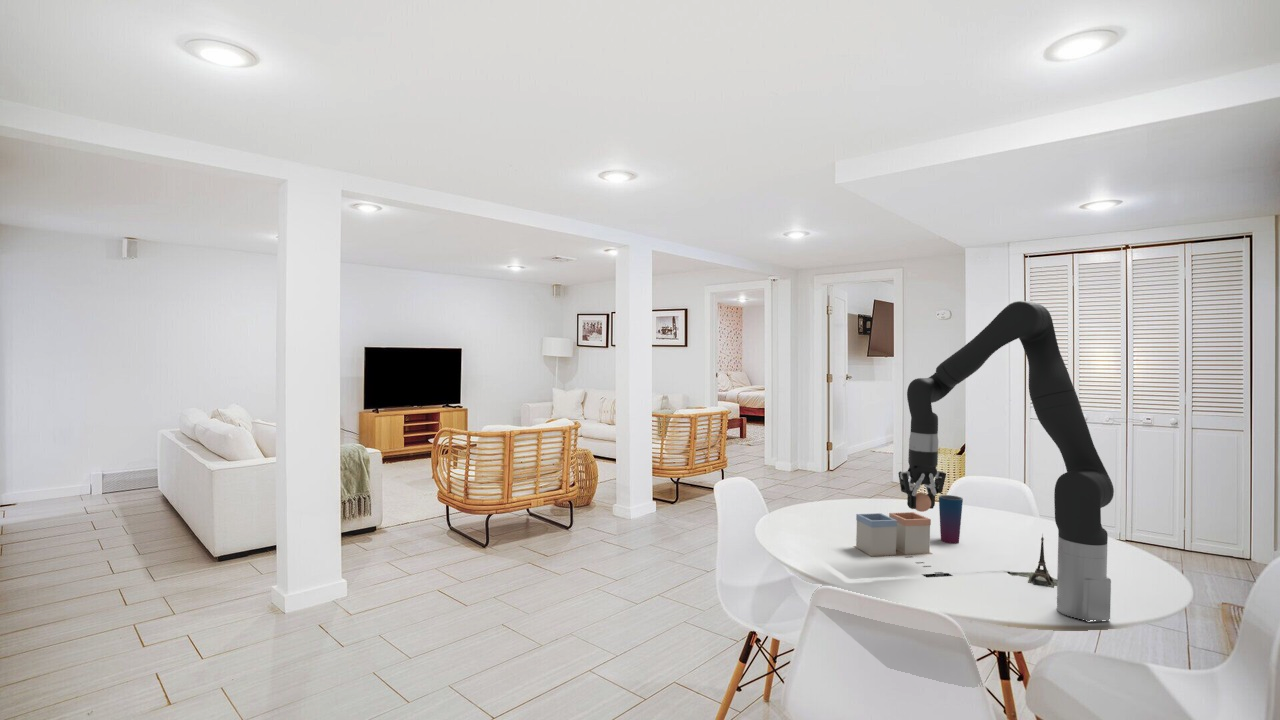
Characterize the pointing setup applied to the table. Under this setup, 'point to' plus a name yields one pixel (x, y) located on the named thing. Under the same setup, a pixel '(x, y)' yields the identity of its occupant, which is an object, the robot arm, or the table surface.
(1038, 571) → the eiffel tower figurine
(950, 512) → the cup
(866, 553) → the tube board
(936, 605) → the table surface
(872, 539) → the tube slate
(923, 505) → the ball terracotta
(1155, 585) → the table surface
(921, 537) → the tube terracotta
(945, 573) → the mat
